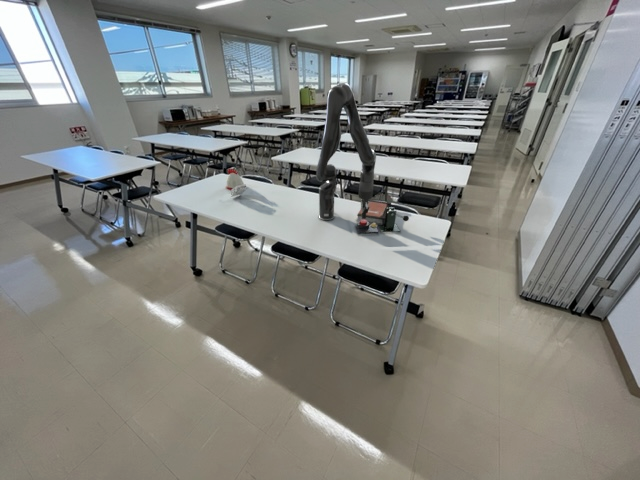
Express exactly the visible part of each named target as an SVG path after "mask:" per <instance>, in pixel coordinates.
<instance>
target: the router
mask: <svg viewBox="0 0 640 480" xmlns="http://www.w3.org/2000/svg"><path fill="white" fill-rule="evenodd" d="M247 189H248V187H247V183H246V184H245V183H244V184H243V185H239V186H236V187H235V188H233V189H232V190H229V191H228V194H231V196H230V198H233V197H236V196H240V195H242V194H243V193H244V192H245V191H246V190H247Z"/></svg>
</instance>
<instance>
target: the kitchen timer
mask: <svg viewBox="0 0 640 480" xmlns="http://www.w3.org/2000/svg"><path fill="white" fill-rule="evenodd" d="M227 173H228V175H227V177H226V182H225V187H226V189H227V190H229V191H231V190H232V189H233V188H235V187H236V186H239V185H243V184H245V183H244V180H243V178H242V177H241V175H239V174H238V171H236V169H234V168H228V169H227Z"/></svg>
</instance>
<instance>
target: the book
mask: <svg viewBox="0 0 640 480" xmlns="http://www.w3.org/2000/svg"><path fill="white" fill-rule="evenodd" d="M368 201H369V205H368V207H369V210H368V213H366V219H362V211H361V210H362V209H361V208H360V209H359V211H358V213H357V214H356V216H357V220H358V221H360V220H366V221H367V222H369V223H375V224H384V221H385V214H386V208H391V207H392V202H391V201H381V200H374V199H369V200H368Z"/></svg>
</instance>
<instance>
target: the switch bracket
mask: <svg viewBox="0 0 640 480" xmlns="http://www.w3.org/2000/svg"><path fill="white" fill-rule="evenodd" d="M389 209H391V210H390V211H388V210H389ZM387 212H388V213H387ZM397 212H398V211H397V210H396V209H395V207H392V206H391V208H386V214H385V221H384V224H381V223H377V228H379V230H380V233H392V232H397V233H398V232H401V229H400V228H399V227H398V225H397V224H396V218H397V216H396V213H397Z"/></svg>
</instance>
